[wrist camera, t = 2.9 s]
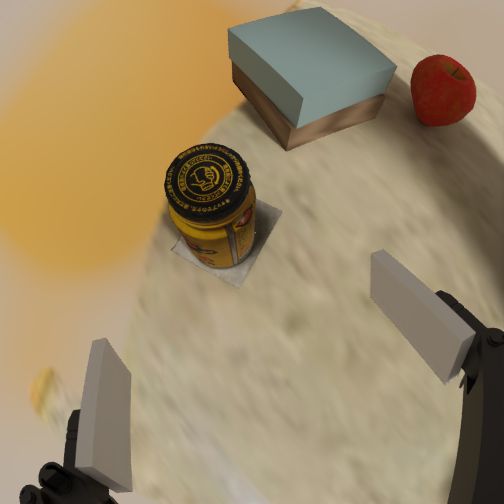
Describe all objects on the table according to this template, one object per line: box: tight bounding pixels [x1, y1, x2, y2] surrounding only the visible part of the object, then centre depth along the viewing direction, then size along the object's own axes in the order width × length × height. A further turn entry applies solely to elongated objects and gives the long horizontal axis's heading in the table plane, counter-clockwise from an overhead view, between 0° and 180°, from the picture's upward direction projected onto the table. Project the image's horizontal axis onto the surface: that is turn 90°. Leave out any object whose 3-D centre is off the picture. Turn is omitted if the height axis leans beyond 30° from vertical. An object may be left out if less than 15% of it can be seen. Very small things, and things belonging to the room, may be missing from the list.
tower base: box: [232, 61, 385, 151], centre depth 33 cm, size 13×13×4 cm
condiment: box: [164, 143, 282, 288], centre depth 24 cm, size 7×8×12 cm
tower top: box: [228, 7, 397, 129], centre depth 28 cm, size 13×13×4 cm
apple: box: [410, 54, 476, 126], centre depth 29 cm, size 9×8×11 cm
